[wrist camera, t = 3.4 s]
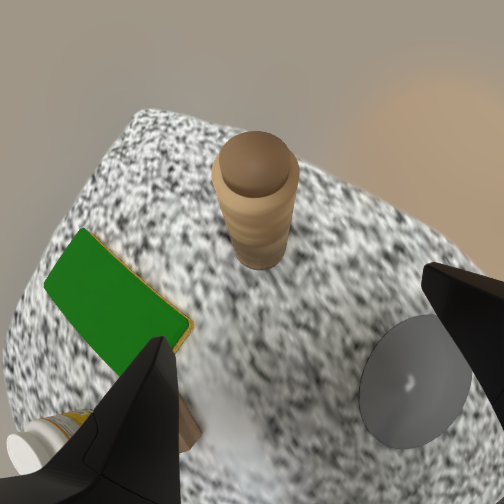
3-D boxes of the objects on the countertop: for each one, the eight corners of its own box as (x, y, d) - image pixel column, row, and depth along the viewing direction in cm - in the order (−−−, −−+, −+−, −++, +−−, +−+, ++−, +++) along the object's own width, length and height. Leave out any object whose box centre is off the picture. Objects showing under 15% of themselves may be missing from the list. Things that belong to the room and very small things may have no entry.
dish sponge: (149, 390, 20) (137, 394, 17) (56, 290, 23) (41, 285, 21) (197, 324, 22) (190, 322, 19) (94, 235, 25) (81, 225, 22)
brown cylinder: (237, 273, 22) (211, 204, 11) (231, 225, 24) (205, 131, 13) (290, 265, 22) (311, 189, 11) (280, 218, 24) (290, 120, 13)
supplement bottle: (105, 470, 17) (43, 507, 7) (65, 432, 18) (-4, 449, 9) (128, 437, 18) (60, 473, 9) (84, 396, 19) (8, 408, 10)
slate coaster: (364, 466, 16) (365, 467, 16) (348, 334, 20) (350, 334, 20) (472, 416, 16) (474, 416, 16) (460, 301, 20) (462, 300, 20)
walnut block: (162, 447, 18) (143, 463, 14) (139, 407, 19) (116, 416, 15) (202, 433, 18) (190, 449, 14) (178, 390, 19) (160, 399, 16)
